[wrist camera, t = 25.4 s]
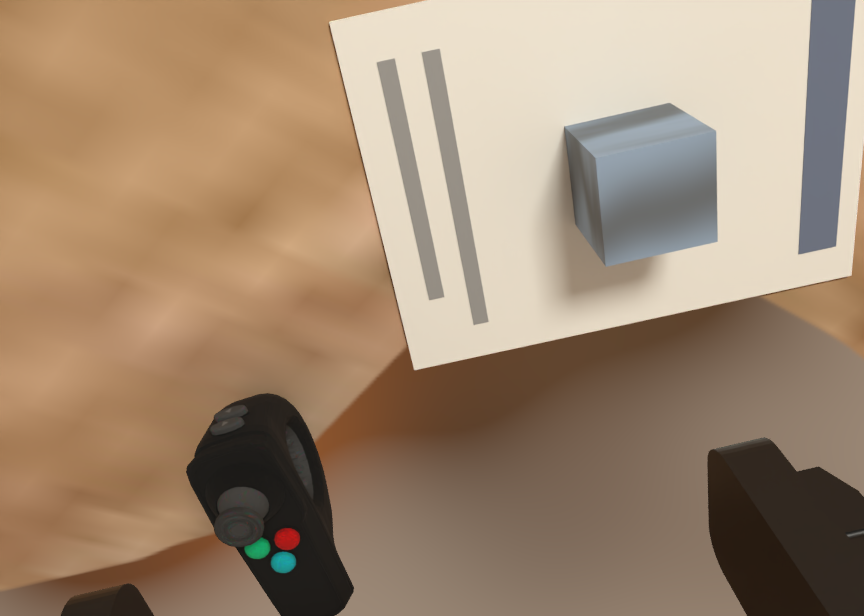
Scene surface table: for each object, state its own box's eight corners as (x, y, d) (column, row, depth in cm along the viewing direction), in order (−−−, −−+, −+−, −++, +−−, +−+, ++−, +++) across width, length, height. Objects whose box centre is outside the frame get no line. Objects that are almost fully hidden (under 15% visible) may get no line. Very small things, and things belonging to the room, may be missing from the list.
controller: (280, 342, 39) (260, 468, 30) (360, 508, 45) (363, 655, 36) (202, 366, 39) (160, 499, 30) (293, 529, 45) (279, 679, 36)
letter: (329, 21, 32) (328, 22, 32) (882, -100, 32) (886, -100, 31) (414, 368, 40) (414, 370, 40) (849, 273, 40) (851, 275, 40)
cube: (564, 126, 35) (595, 158, 30) (669, 102, 35) (716, 130, 30) (575, 224, 37) (605, 266, 33) (674, 202, 37) (717, 241, 33)
